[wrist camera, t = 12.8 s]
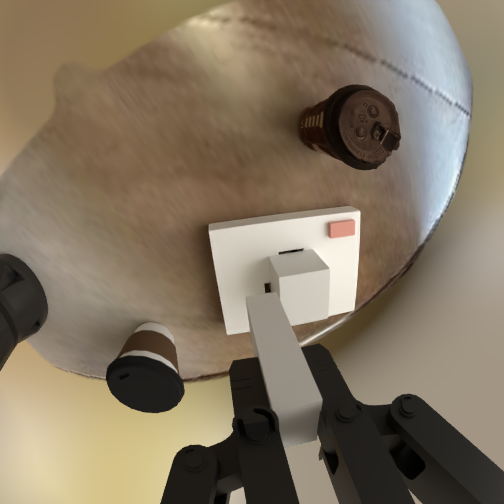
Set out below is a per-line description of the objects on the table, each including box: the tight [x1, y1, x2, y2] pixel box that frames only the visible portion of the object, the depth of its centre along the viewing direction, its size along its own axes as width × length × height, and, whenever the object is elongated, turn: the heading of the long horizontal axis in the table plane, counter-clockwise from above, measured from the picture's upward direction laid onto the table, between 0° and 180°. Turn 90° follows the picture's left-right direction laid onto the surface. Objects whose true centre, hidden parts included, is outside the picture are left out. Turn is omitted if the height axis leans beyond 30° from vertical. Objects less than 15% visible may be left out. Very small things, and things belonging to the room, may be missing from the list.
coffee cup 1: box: [106, 322, 185, 413], centre depth 37 cm, size 11×11×12 cm
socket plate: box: [209, 206, 360, 335], centre depth 39 cm, size 16×20×4 cm
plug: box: [268, 249, 330, 326], centre depth 36 cm, size 7×6×9 cm
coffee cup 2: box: [299, 85, 401, 170], centre depth 28 cm, size 9×8×13 cm
